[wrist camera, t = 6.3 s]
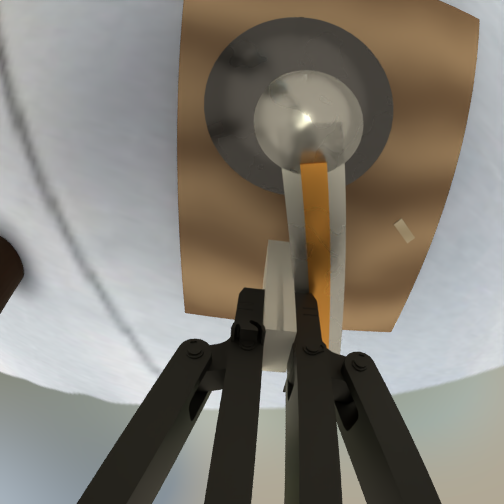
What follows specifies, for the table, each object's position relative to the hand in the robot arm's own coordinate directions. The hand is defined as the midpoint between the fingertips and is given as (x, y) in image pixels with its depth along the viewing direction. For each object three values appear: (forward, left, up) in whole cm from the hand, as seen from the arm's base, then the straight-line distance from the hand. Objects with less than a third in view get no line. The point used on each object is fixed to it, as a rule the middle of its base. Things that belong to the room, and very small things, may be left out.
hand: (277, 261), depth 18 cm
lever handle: (-4, +1, -3) cm, 6 cm away
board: (-4, +2, -5) cm, 7 cm away
